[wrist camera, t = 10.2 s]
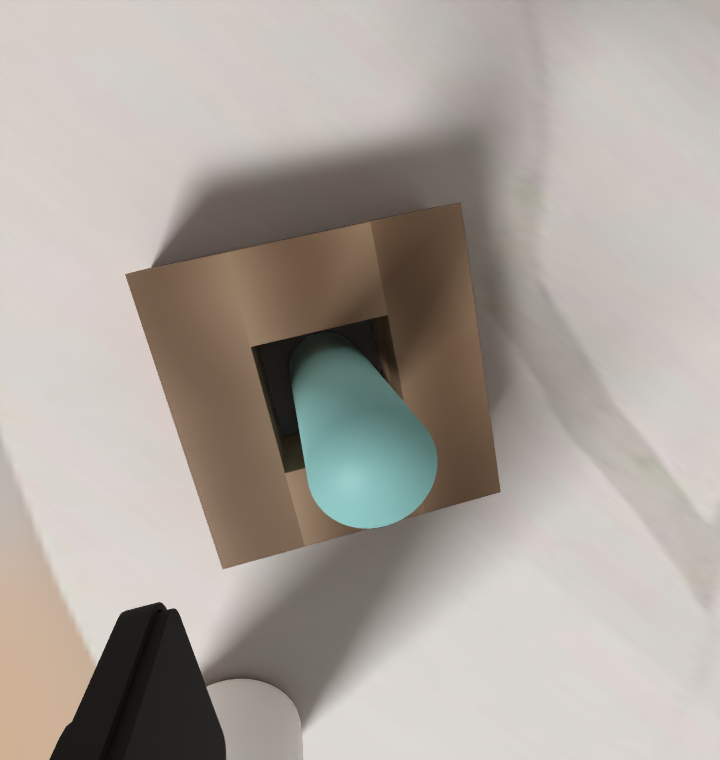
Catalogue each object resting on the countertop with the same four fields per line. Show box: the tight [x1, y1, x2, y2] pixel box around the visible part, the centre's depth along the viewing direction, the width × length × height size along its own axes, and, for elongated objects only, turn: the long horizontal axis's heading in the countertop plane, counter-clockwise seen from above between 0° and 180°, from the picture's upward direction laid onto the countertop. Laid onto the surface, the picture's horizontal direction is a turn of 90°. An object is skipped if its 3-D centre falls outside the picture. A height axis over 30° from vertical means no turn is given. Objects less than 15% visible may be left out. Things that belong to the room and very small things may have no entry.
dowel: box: [289, 332, 437, 529], centre depth 19 cm, size 3×3×11 cm
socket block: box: [125, 203, 501, 569], centre depth 22 cm, size 12×12×4 cm
